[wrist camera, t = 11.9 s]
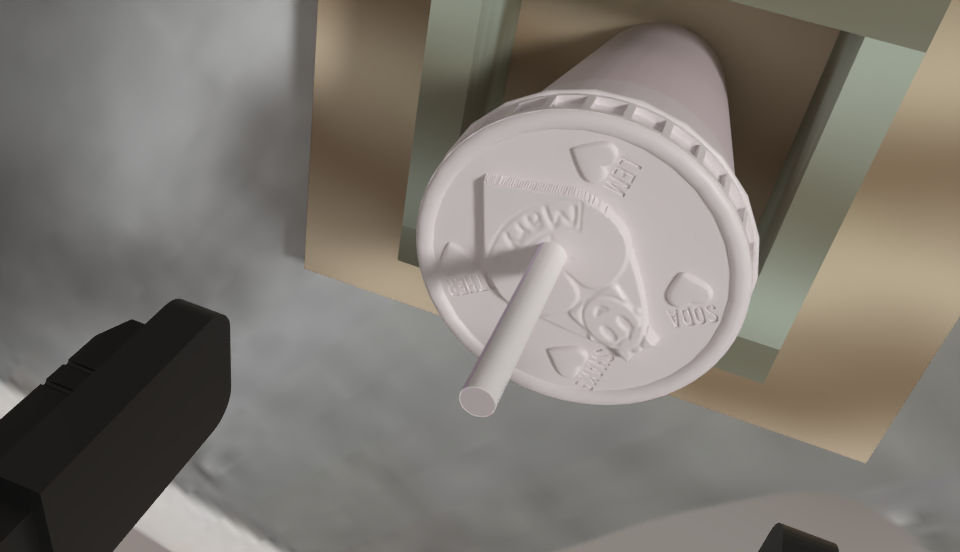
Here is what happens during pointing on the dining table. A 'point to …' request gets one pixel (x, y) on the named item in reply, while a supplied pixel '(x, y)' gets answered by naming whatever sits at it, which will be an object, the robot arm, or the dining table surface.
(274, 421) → the dining table surface
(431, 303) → the collar stand
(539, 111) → the smoothie
